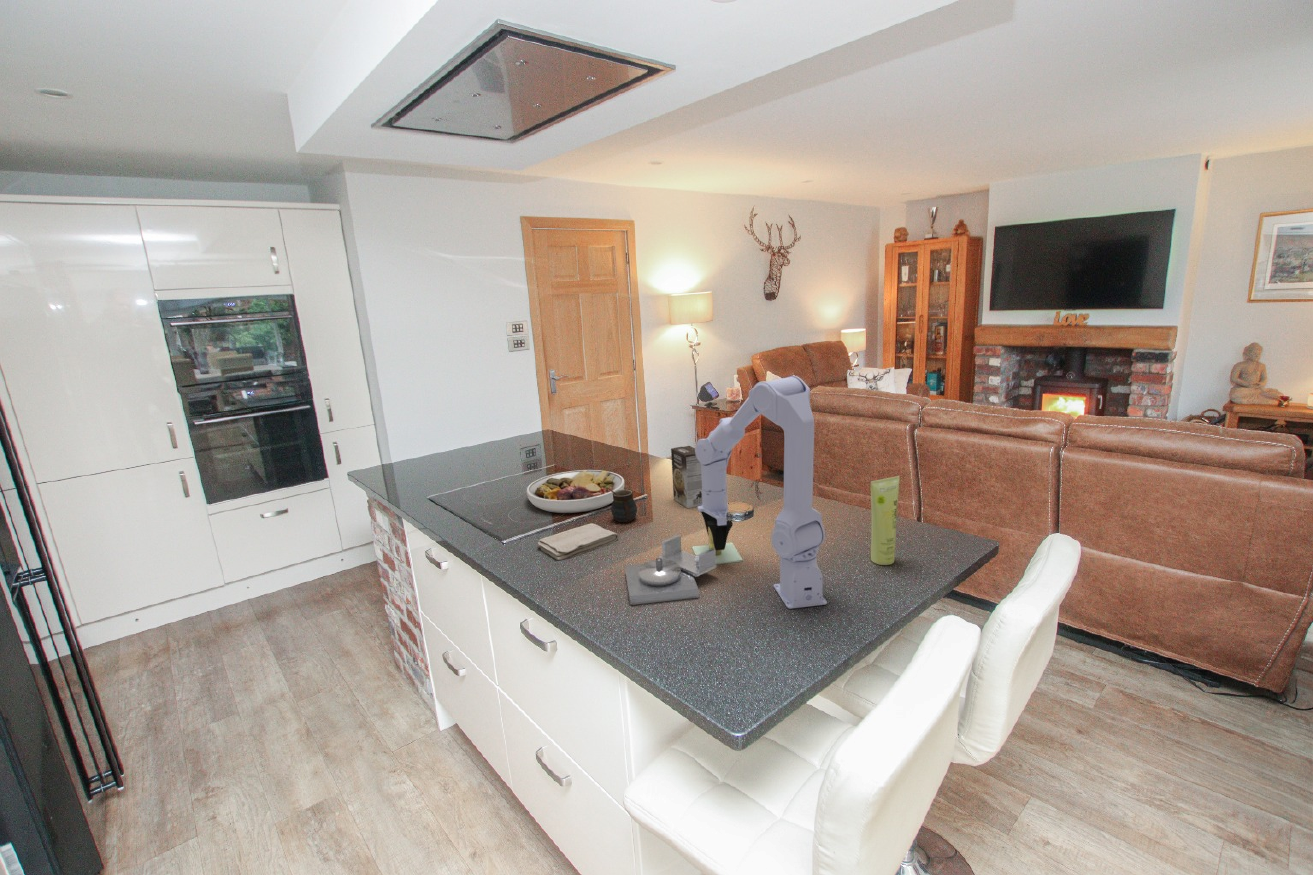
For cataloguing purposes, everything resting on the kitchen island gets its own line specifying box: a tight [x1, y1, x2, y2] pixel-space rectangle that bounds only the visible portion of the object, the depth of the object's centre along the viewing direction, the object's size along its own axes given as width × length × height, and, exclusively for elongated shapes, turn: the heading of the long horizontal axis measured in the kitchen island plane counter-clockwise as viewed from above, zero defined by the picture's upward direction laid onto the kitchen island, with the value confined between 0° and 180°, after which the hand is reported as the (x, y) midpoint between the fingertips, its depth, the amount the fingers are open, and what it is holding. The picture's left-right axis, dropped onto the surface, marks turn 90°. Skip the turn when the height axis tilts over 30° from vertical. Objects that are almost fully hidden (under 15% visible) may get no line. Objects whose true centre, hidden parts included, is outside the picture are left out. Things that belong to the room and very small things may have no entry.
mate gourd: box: [608, 488, 638, 523], centre depth 165 cm, size 7×8×10 cm
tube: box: [870, 475, 901, 566], centre depth 131 cm, size 6×5×20 cm
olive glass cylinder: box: [707, 527, 722, 556], centre depth 141 cm, size 3×3×6 cm
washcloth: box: [537, 523, 620, 561], centre depth 152 cm, size 12×18×3 cm, turn 130°
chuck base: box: [624, 563, 700, 606], centre depth 128 cm, size 14×14×2 cm
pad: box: [691, 542, 744, 565], centre depth 142 cm, size 10×10×1 cm
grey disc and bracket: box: [638, 534, 718, 586], centre depth 129 cm, size 16×12×4 cm
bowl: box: [526, 469, 625, 514], centre depth 185 cm, size 30×30×8 cm
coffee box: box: [670, 445, 703, 509], centre depth 175 cm, size 9×6×16 cm
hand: (716, 542), depth 141 cm, fingers open, 7 cm apart
